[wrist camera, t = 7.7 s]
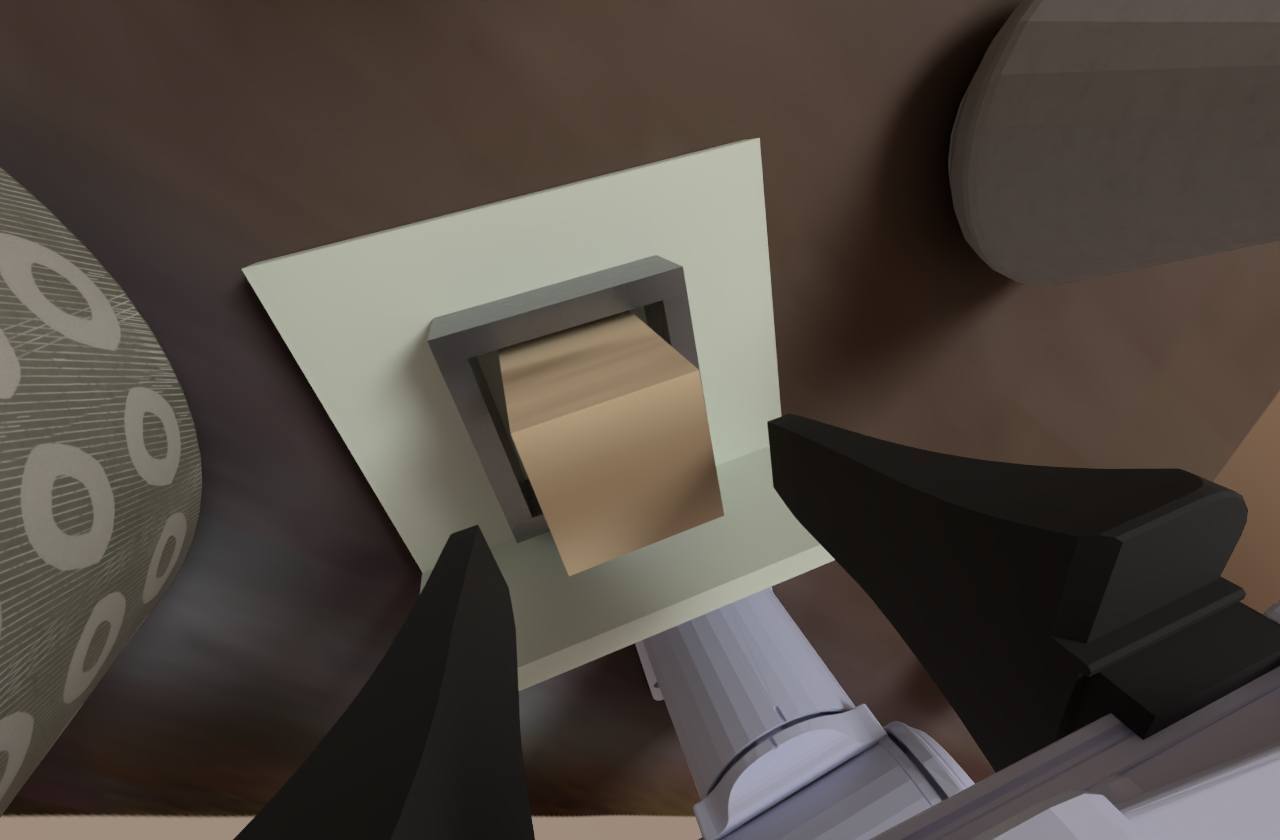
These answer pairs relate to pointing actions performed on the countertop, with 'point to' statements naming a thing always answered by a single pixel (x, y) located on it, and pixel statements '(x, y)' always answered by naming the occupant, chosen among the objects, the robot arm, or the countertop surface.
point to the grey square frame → (534, 317)
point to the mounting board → (430, 422)
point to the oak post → (611, 437)
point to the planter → (78, 477)
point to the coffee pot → (1120, 136)
